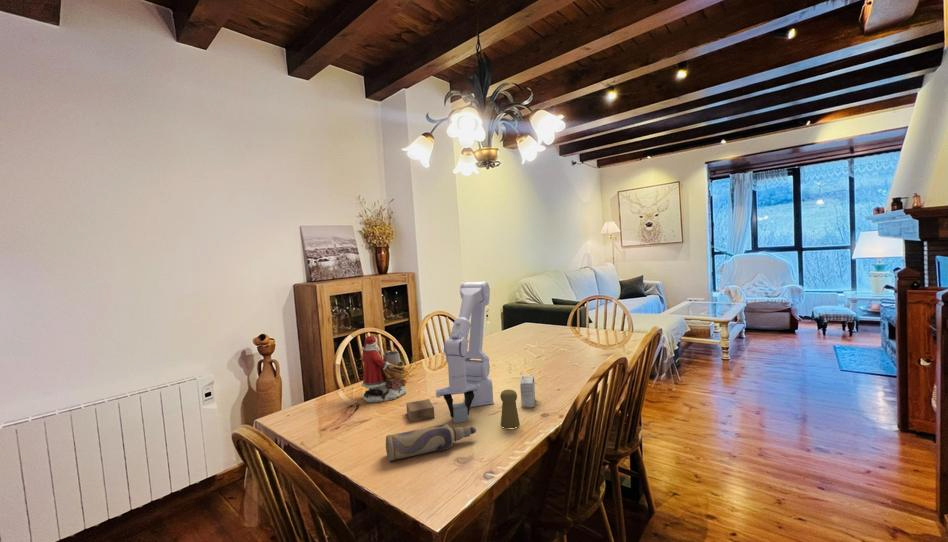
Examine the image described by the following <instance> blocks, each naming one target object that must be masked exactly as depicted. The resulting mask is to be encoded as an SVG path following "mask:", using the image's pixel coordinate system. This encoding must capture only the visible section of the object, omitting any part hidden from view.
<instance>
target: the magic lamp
mask: <svg viewBox="0 0 948 542" xmlns="http://www.w3.org/2000/svg"><path fill="white" fill-rule="evenodd" d="M410 359H411V362H410V365H409V367H408V368H404V369H403V371H404V372H403V374H402V376H401V382H403V383H404V382H406V381H407V380H405V378H406V377H408V376H410V373H411V372H412V371H414V370H415V369H416V368H417V367H418V364H417V362H416V361H415V356H411V357H410ZM413 363H414V364H415V365H416V366H415V367H414V368H412V369H411V367H413V366H412V365H413ZM410 369H411V370H410ZM409 370H410V371H409ZM406 383H407V382H406ZM404 384H405V383H404Z"/></svg>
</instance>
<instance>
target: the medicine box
mask: <svg viewBox="0 0 948 542" xmlns="http://www.w3.org/2000/svg"><path fill="white" fill-rule="evenodd" d="M519 385H520V388H519V389H520V402H521V403H520V405H521V407H522V406H527V407H526V408H532V407H534V408H535V404H536V403H535V402H536V392H535V390H536V389H535V387H536V386H535V377H534V376H532V375H531V376H530V375H526V376H522V377H521V380H520V383H519ZM530 406H531V407H530Z"/></svg>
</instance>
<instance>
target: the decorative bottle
mask: <svg viewBox="0 0 948 542" xmlns="http://www.w3.org/2000/svg"><path fill="white" fill-rule="evenodd" d="M476 432H477V429H476V428H475V427H473V426H472V427H471V426H464V427H461V426H456V427H453V428H452V427H451V426H449V424H446V423H445V424H441V425H439V424H438V425H434V426H429V427H424V428H423V427H422V428H418V429H415V430H409V431H408V430H407V431H404V432H398V433H395V434H393V433H392V434H387V435H386V436H385V452H386V457H387V460H388V461H389V462H393V461H397V460H400V459H401V460H402V459H405V458H410V457H414V456H417V455H423V454H427V453H431V452H436V451H439V452H440V451H441V452H442V451H446V450H445V449H447V448H448V449H450V448H451V447H452V446H453V445H454V444H455V443H456V442H457V441H460V440H462V439H464V438H469V437H471V435H474V434H476ZM448 449H447V450H448Z"/></svg>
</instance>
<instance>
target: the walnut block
mask: <svg viewBox="0 0 948 542" xmlns="http://www.w3.org/2000/svg"><path fill="white" fill-rule="evenodd" d="M405 404H406V415H407V417H408V419H409V422H410V423H417V422H421V421H422V422H423V421H426V420H432V419H435V408H434V407H435V406H434V405H433V404H432V402H431V400H430V398H426V399H423V400H416V401H410V402H406V403H405Z"/></svg>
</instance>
